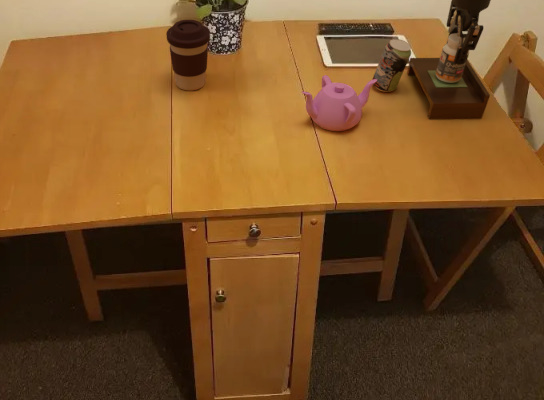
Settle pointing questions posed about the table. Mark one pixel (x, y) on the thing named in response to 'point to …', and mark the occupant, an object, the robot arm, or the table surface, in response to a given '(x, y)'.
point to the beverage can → (392, 65)
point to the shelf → (450, 91)
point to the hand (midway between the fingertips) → (454, 55)
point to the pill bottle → (450, 61)
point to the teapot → (337, 105)
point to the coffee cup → (189, 53)
